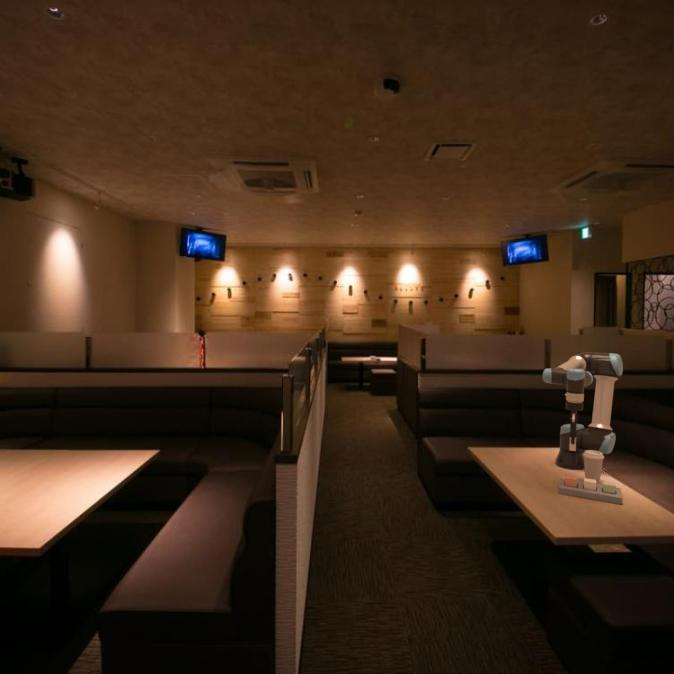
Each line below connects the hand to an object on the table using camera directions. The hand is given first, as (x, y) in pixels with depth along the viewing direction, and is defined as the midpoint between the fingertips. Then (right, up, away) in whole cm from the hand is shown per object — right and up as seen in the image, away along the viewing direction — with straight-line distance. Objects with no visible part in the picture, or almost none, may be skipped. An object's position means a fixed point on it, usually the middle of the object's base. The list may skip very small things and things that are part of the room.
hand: (572, 450), depth 232 cm
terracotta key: (0, -17, +1) cm, 17 cm away
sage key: (+14, -17, -6) cm, 23 cm away
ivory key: (+7, -17, -3) cm, 19 cm away
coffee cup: (+17, -20, +15) cm, 30 cm away
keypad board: (+7, -20, -2) cm, 21 cm away
